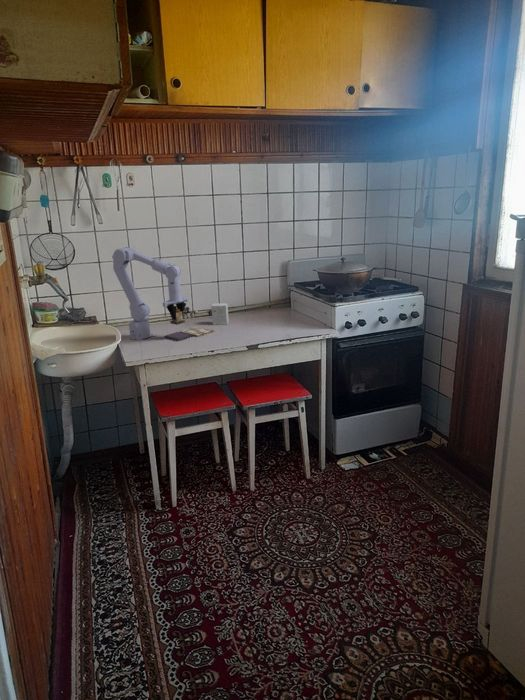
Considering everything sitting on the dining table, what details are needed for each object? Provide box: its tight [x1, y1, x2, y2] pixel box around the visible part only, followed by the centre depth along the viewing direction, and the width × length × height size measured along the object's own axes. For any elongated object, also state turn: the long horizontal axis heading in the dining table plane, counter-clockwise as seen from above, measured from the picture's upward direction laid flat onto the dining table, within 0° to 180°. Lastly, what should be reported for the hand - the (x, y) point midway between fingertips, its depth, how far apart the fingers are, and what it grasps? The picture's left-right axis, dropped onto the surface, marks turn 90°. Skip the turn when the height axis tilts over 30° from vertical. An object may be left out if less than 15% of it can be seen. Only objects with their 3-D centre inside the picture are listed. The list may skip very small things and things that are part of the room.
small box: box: [210, 302, 230, 326], centre depth 264 cm, size 8×6×10 cm
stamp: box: [169, 308, 186, 325], centre depth 240 cm, size 5×5×7 cm
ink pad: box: [163, 331, 194, 342], centre depth 243 cm, size 9×11×1 cm
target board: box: [179, 326, 215, 338], centre depth 250 cm, size 11×13×1 cm
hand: (177, 318), depth 240 cm, fingers closed on stamp, 4 cm apart
